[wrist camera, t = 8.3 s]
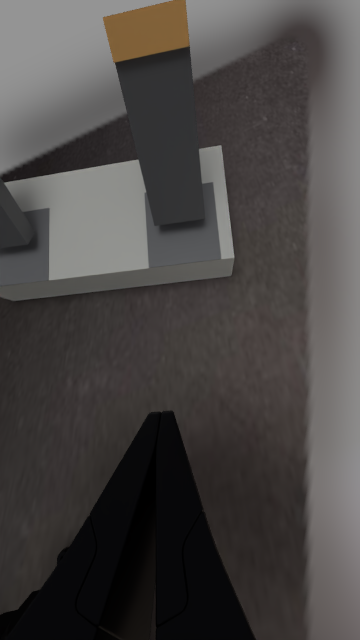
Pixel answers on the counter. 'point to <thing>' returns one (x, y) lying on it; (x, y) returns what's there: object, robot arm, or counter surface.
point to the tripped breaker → (160, 106)
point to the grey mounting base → (113, 233)
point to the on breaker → (12, 221)
